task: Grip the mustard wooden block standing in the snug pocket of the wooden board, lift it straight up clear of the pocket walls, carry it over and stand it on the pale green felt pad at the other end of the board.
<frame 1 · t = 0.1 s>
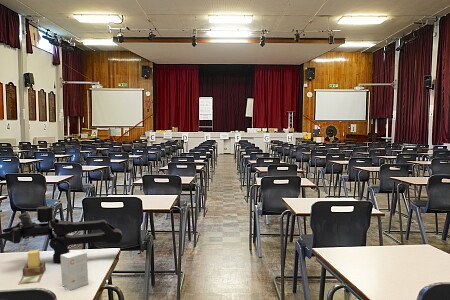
small box: (75, 286, 164), on the table
board: (32, 278, 172), on the table
block: (34, 272, 177), point 1 cm above the table, touching board
pocket: (34, 274, 177), resting on board
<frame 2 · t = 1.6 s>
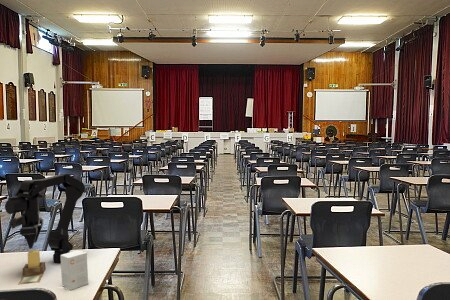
hand: (32, 245, 176), 13 cm above the table, tool pointing down, fingers open, 9 cm apart
nothing on the table moved.
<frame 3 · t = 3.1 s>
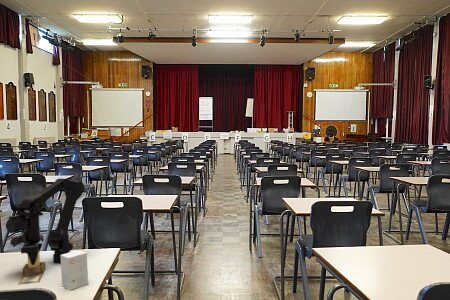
hand: (34, 263, 176), 5 cm above the table, tool pointing down, fingers closed on block, 4 cm apart
block: (34, 272, 177), point 1 cm above the table, touching board, gripper
everything else where it was.
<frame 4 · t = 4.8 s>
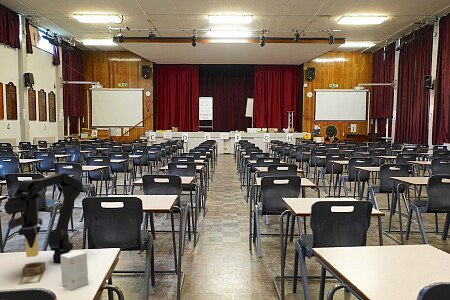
hand: (32, 246, 174), 13 cm above the table, tool pointing down, fingers closed on block, 4 cm apart
block: (32, 255, 175), point 9 cm above the table, touching gripper
everything else where it was.
when the fingers open (6 cm above the table, at t = 6.7 s): block stays where it is, resting on board.
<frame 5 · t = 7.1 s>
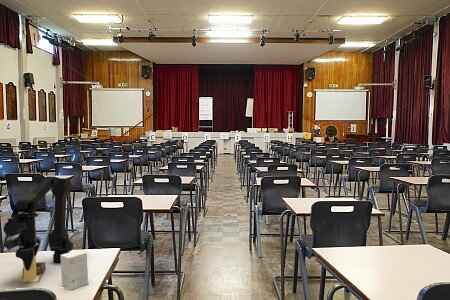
hand: (29, 267, 168), 6 cm above the table, tool pointing down, fingers open, 8 cm apart
block: (30, 279, 168), point 1 cm above the table, touching board
everything else where it was.
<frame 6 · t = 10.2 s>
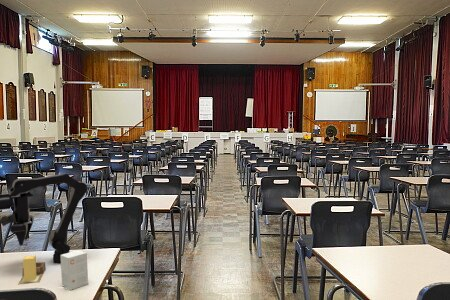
hand: (23, 242, 181), 13 cm above the table, tool pointing down, fingers open, 9 cm apart
nothing on the table moved.
at the end: block 0.1 cm from the target spot on the board, point 1.3 cm above the board's base; block tilted 0°; the gripper is holding nothing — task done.
